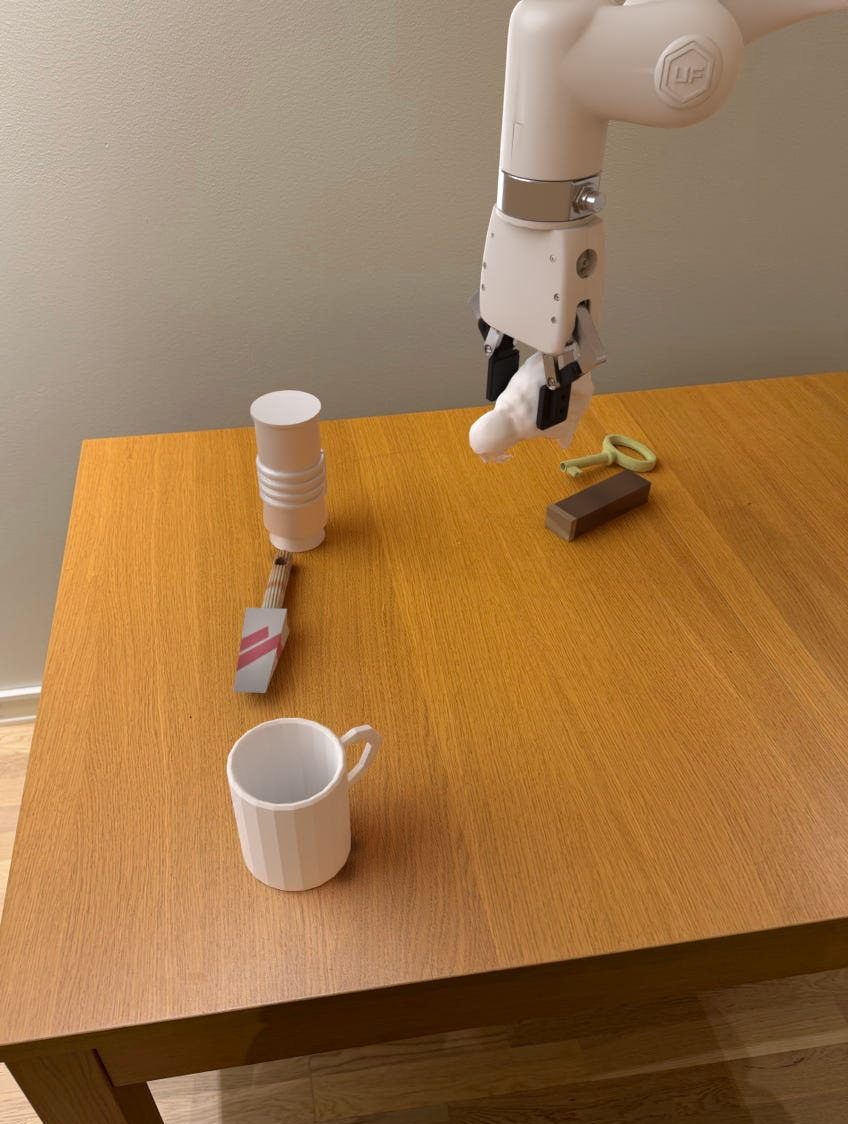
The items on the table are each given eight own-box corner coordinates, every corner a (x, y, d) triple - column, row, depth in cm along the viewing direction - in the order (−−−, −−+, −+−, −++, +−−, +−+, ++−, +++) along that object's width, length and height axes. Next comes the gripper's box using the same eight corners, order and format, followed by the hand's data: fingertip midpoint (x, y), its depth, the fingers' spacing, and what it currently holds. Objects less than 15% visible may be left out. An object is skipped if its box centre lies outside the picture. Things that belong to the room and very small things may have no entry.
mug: (413, 827, 70) (416, 741, 63) (280, 912, 65) (267, 829, 58) (351, 761, 75) (347, 675, 68) (223, 836, 69) (204, 751, 63)
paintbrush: (224, 678, 77) (265, 544, 93) (228, 702, 79) (268, 566, 94) (269, 680, 77) (303, 546, 92) (272, 704, 79) (305, 568, 94)
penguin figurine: (605, 351, 78) (498, 406, 74) (597, 436, 84) (498, 491, 80) (553, 326, 82) (448, 377, 78) (549, 409, 88) (452, 460, 84)
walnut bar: (623, 487, 103) (627, 467, 101) (648, 502, 101) (652, 481, 99) (544, 525, 98) (546, 505, 96) (568, 542, 96) (571, 521, 94)
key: (553, 479, 104) (556, 462, 103) (614, 438, 111) (617, 422, 109) (607, 503, 101) (610, 487, 99) (667, 459, 107) (671, 443, 105)
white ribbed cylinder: (340, 543, 96) (334, 414, 86) (279, 562, 94) (265, 432, 84) (314, 510, 101) (305, 383, 91) (255, 527, 99) (239, 400, 89)
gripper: (671, 211, 65) (628, 436, 78) (507, 158, 76) (492, 363, 88) (596, 235, 62) (564, 465, 75) (436, 176, 73) (431, 386, 85)
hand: (525, 408), depth 81 cm, fingers closed on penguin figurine, 5 cm apart
